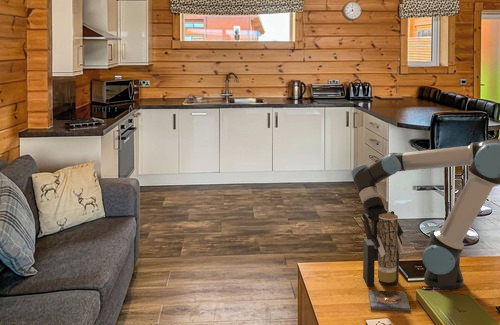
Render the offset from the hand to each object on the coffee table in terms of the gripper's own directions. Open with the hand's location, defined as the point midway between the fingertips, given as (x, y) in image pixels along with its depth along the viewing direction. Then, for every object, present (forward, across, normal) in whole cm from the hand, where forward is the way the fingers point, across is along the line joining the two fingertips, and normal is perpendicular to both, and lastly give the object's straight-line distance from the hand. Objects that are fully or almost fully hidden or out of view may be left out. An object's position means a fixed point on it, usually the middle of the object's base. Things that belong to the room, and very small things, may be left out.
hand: (392, 254), depth 180 cm
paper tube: (+6, 0, -11) cm, 12 cm away
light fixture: (0, -8, -29) cm, 30 cm away
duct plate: (+12, 0, -17) cm, 21 cm away
